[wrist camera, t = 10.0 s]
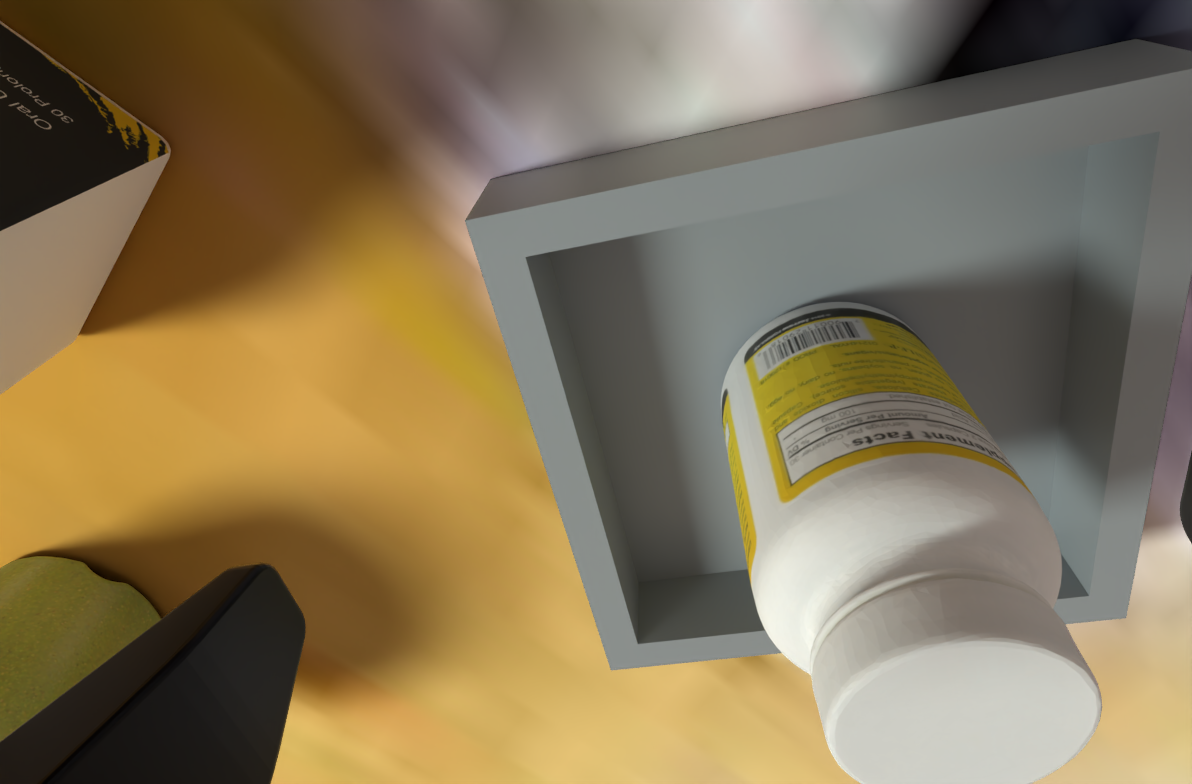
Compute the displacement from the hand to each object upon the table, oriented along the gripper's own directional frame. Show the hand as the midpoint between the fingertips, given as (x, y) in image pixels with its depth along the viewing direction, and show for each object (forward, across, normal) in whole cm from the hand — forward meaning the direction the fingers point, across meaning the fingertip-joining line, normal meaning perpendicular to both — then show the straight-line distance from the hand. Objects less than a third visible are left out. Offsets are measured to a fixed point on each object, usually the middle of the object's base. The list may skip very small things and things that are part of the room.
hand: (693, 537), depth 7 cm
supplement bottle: (+12, -3, +6) cm, 13 cm away
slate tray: (+12, -3, +6) cm, 14 cm away
